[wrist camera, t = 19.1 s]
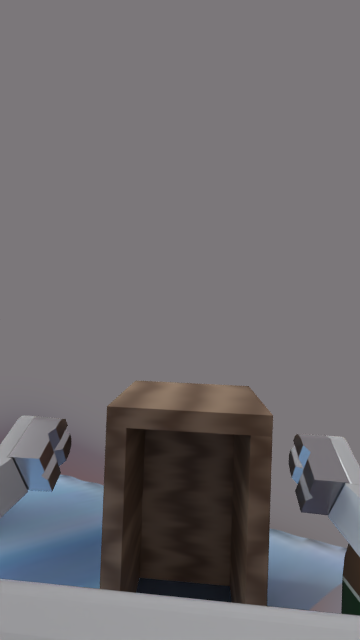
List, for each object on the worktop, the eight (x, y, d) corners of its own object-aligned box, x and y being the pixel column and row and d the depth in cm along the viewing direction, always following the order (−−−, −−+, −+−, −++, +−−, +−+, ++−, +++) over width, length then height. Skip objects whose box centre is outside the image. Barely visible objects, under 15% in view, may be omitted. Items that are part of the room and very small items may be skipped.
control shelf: (96, 675, 28) (107, 406, 28) (128, 564, 41) (135, 380, 41) (264, 695, 27) (272, 415, 27) (242, 574, 40) (248, 386, 40)
